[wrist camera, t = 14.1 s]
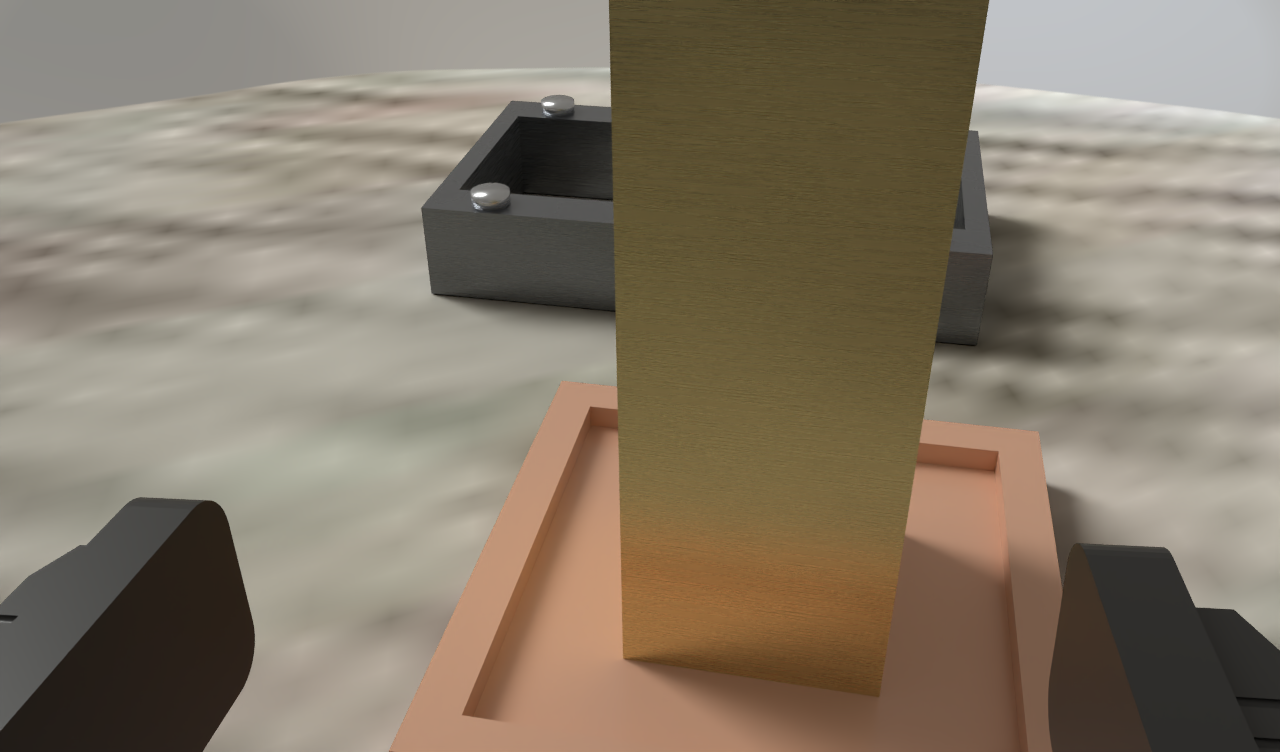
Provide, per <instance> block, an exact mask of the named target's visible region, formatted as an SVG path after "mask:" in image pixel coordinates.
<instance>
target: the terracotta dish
mask: <svg viewBox="0 0 1280 752" xmlns="http://www.w3.org/2000/svg"><path fill="white" fill-rule="evenodd" d="M1062 594H1063V591H1062V584H1061V577H1060V571H1059V564H1058V557H1057V551H1056V544H1055V538H1054V531H1053V524H1052V518H1051V511H1050V505H1049V498H1048V491H1047V485H1046V478H1045V471H1044V465H1043V458H1042V452H1041V445H1040V438H1039V432H1036V431H1027V430H1017V429H1008V428H999V427H989V426H980V425H971V424H961V423H952V422H942V421H933V420H924V419H923V423H922V430H921V436H920V442H919V449H918V455H917V461H916V468H915V474H914V480H913V487H912V493H911V499H910V506H909V512H908V518H907V525H906V531H905V537H904V544H903V550H902V556H901V563H900V569H899V575H898V582H897V588H896V594H895V601H894V607H893V613H892V620H891V626H890V632H889V639H888V645H887V651H886V658H885V664H884V670H883V677H882V683H881V689H880V696H879V697H874V696H868V695H861V694H854V693H848V692H841V691H834V690H828V689H821V688H814V687H808V686H801V685H795V684H788V683H781V682H775V681H768V680H761V679H755V678H748V677H741V676H735V675H728V674H721V673H715V672H708V671H701V670H695V669H688V668H681V667H675V666H668V665H662V664H655V663H648V662H642V661H635V660H628V659H623V637H622V590H621V543H620V495H619V448H618V401H617V387H615V386H605V385H596V384H586V383H577V382H568V381H562V382H561V384H560V386H559V388H558V390H557V392H556V394H555V397H554V399H553V401H552V403H551V405H550V407H549V409H548V412H547V414H546V416H545V418H544V420H543V422H542V424H541V426H540V429H539V431H538V433H537V435H536V437H535V439H534V441H533V444H532V446H531V448H530V450H529V452H528V454H527V456H526V459H525V461H524V463H523V465H522V467H521V469H520V471H519V474H518V476H517V478H516V480H515V482H514V484H513V486H512V489H511V491H510V493H509V495H508V497H507V499H506V501H505V504H504V506H503V508H502V510H501V512H500V514H499V516H498V519H497V521H496V523H495V525H494V527H493V529H492V531H491V534H490V536H489V538H488V540H487V542H486V544H485V546H484V549H483V551H482V553H481V555H480V557H479V559H478V561H477V563H476V566H475V568H474V570H473V572H472V574H471V576H470V578H469V581H468V583H467V585H466V587H465V589H464V591H463V593H462V596H461V598H460V600H459V602H458V604H457V606H456V608H455V611H454V613H453V615H452V617H451V619H450V621H449V623H448V626H447V628H446V630H445V632H444V634H443V636H442V638H441V641H440V643H439V645H438V647H437V649H436V651H435V653H434V656H433V658H432V660H431V662H430V664H429V666H428V668H427V671H426V673H425V675H424V677H423V679H422V681H421V683H420V686H419V688H418V690H417V692H416V694H415V696H414V698H413V700H412V703H411V705H410V707H409V709H408V711H407V713H406V715H405V718H404V720H403V722H402V724H401V726H400V728H399V730H398V733H397V735H396V737H395V739H394V741H393V743H392V745H391V748H390V750H389V752H1052V747H1051V740H1050V732H1049V720H1048V688H1049V678H1050V670H1051V664H1052V658H1053V651H1054V645H1055V638H1056V632H1057V626H1058V619H1059V613H1060V607H1061V600H1062Z"/></svg>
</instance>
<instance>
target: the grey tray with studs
mask: <svg viewBox="0 0 1280 752" xmlns="http://www.w3.org/2000/svg"><path fill="white" fill-rule="evenodd" d="M523 192H525V193H538V194H551V195H564V196H576V197H589V198H602V199H613V165H612V117H611V107H599V106H583V105H574V99H573V98H572V97H569V96H565V95H552V96H548V97H545V98H543V99H542V100H541V103H537V102H522V101H511V102H510V103H509V105H508V106H507V107H506V108H505V109H504V111H503V112H502V113H501V114H500V115H499V116H498V118H497V119H496V120H495V121H494V122H493V124H492V125H491V126H490V127H489V128H488V129H487V131H486V132H485V133H484V134H483V135H482V137H481V138H480V139H479V140H478V141H477V142H476V144H475V145H474V146H473V147H472V148H471V150H470V151H469V152H468V153H467V154H466V155H465V157H464V158H463V159H462V160H461V161H460V163H459V164H458V165H457V166H456V167H455V168H454V170H453V171H452V172H451V173H450V174H449V176H448V177H447V178H446V179H445V180H444V181H443V183H442V184H441V185H440V186H439V187H438V189H437V190H436V191H435V192H434V193H433V195H432V196H431V197H430V198H429V199H428V200H427V202H426V203H425V204H424V205H423V206H422V208H421V209H422V218H423V226H424V234H425V242H426V251H427V259H428V267H429V275H430V284H431V292H432V293H433V294H444V295H454V296H465V297H475V298H486V299H496V300H507V301H517V302H528V303H538V304H549V305H559V306H570V307H580V308H591V309H601V310H612V311H616V306H615V259H614V212H613V202H609V201H596V200H584V199H571V198H558V197H546V196H533V195H522V194H523ZM992 257H993V252H992V243H991V235H990V227H989V219H988V211H987V202H986V194H985V186H984V178H983V169H982V161H981V153H980V145H979V136H978V131H970V130H969V132H968V138H967V144H966V151H965V157H964V163H963V170H962V176H961V182H960V189H959V195H958V201H957V208H956V214H955V220H954V227H953V233H952V239H951V246H950V252H949V258H948V265H947V271H946V277H945V284H944V290H943V296H942V303H941V309H940V315H939V322H938V328H937V334H936V341H937V342H947V343H958V344H968V345H977V340H978V334H979V329H980V323H981V317H982V312H983V306H984V301H985V295H986V290H987V284H988V279H989V273H990V268H991V262H992Z"/></svg>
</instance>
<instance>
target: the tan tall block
mask: <svg viewBox="0 0 1280 752" xmlns="http://www.w3.org/2000/svg"><path fill="white" fill-rule="evenodd" d="M988 4H989V0H609V19H610V20H609V23H610V70H611V117H612V165H613V212H614V259H615V306H616V354H617V401H618V448H619V495H620V543H621V590H622V637H623V659H628V660H635V661H642V662H648V663H655V664H662V665H668V666H675V667H681V668H688V669H695V670H701V671H708V672H715V673H721V674H728V675H735V676H741V677H748V678H755V679H761V680H768V681H775V682H781V683H788V684H795V685H801V686H808V687H814V688H821V689H828V690H834V691H841V692H848V693H854V694H861V695H868V696H874V697H879V696H880V689H881V683H882V677H883V670H884V664H885V658H886V651H887V645H888V639H889V632H890V626H891V620H892V613H893V607H894V601H895V594H896V588H897V582H898V575H899V569H900V563H901V556H902V550H903V544H904V537H905V531H906V525H907V518H908V512H909V506H910V499H911V493H912V487H913V480H914V474H915V468H916V461H917V455H918V449H919V442H920V436H921V430H922V423H923V417H924V410H925V404H926V398H927V391H928V385H929V379H930V372H931V366H932V360H933V353H934V347H935V341H936V334H937V328H938V322H939V315H940V309H941V303H942V296H943V290H944V284H945V277H946V271H947V265H948V258H949V252H950V246H951V239H952V233H953V227H954V220H955V214H956V208H957V201H958V195H959V189H960V182H961V176H962V170H963V163H964V157H965V151H966V144H967V138H968V132H969V125H970V119H971V113H972V106H973V100H974V94H975V87H976V81H977V75H978V68H979V62H980V55H981V49H982V43H983V36H984V30H985V24H986V17H987V11H988Z"/></svg>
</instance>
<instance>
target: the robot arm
mask: <svg viewBox="0 0 1280 752" xmlns="http://www.w3.org/2000/svg"><path fill="white" fill-rule="evenodd" d="M254 646H255V633H254V625H253V620H252V616H251V612H250V608H249V604H248V600H247V596H246V592H245V588H244V583H243V579H242V575H241V571H240V567H239V563H238V559H237V555H236V551H235V547H234V543H233V539H232V535H231V531H230V527H229V523H228V520H227V517H226V515H225V513H224V511H223V509H222V508H221V506H220V505H218V504H217V503H216V502H214V501H207V500H186V499H164V498H143V497H140V498H136V499H133V500H132V501H130V502H129V503H127V504H126V505H125V506H124V507H123V508H122V509H121V510H120V511H119V512H118V513H117V514H116V515H115V516H114V517H113V518H112V519H111V520H110V521H109V523H108V524H107V525H106V526H105V527H104V528H103V529H102V530H101V531H100V532H99V533H98V534H97V535H96V536H95V537H94V538H93V539H92V540H91V541H90V542H89V543H88V544H87V545H80V546H78V547H76V548H75V549H73V550H71V551H70V552H68V553H66V554H65V555H63V556H61V557H60V558H58V559H56V560H55V561H53V562H52V563H50V564H48V565H47V566H45V567H43V568H42V569H40V570H38V571H37V572H35V573H33V574H32V575H30V576H28V577H27V578H26V579H25V580H24V581H23V582H22V583H21V584H20V585H19V586H18V587H17V588H16V589H15V590H14V591H13V592H12V593H11V594H10V595H9V596H8V597H7V598H6V599H5V600H4V601H3V602H2V603H1V604H0V752H203V750H204V748H205V747H206V745H207V744H208V742H209V741H210V739H211V738H212V736H213V734H214V733H215V731H216V730H217V728H218V727H219V725H220V724H221V722H222V720H223V719H224V717H225V716H226V714H227V713H228V711H229V709H230V708H231V706H232V705H233V703H234V702H235V700H236V699H237V697H238V695H239V694H240V692H241V691H242V689H243V687H244V685H245V683H246V681H247V678H248V675H249V672H250V669H251V665H252V661H253V655H254ZM1048 720H1049V732H1050V740H1051V747H1052V752H1280V650H1278V649H1277V648H1276V647H1275V646H1274V645H1273V644H1272V643H1271V642H1269V641H1268V640H1267V639H1266V638H1265V637H1264V636H1263V635H1262V634H1261V633H1259V632H1258V631H1257V630H1256V629H1255V628H1254V627H1253V626H1252V625H1250V624H1249V623H1248V622H1247V621H1246V620H1245V619H1244V618H1243V617H1241V616H1240V615H1239V614H1238V613H1237V612H1236V611H1235V610H1231V609H1213V608H1195V606H1194V603H1193V601H1192V599H1191V597H1190V594H1189V592H1188V590H1187V588H1186V585H1185V583H1184V581H1183V579H1182V576H1181V574H1180V572H1179V570H1178V567H1177V565H1176V563H1175V561H1174V559H1173V557H1172V555H1171V553H1170V552H1169V551H1168V549H1166V548H1164V547H1144V546H1122V545H1101V544H1080V543H1076V544H1075V545H1074V546H1073V547H1072V549H1071V552H1070V554H1069V558H1068V563H1067V568H1066V575H1065V581H1064V587H1063V594H1062V600H1061V607H1060V613H1059V619H1058V626H1057V632H1056V638H1055V645H1054V651H1053V658H1052V664H1051V670H1050V678H1049V688H1048Z"/></svg>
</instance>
